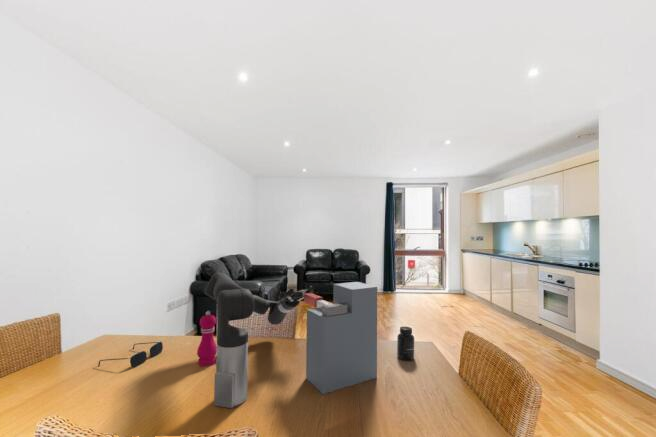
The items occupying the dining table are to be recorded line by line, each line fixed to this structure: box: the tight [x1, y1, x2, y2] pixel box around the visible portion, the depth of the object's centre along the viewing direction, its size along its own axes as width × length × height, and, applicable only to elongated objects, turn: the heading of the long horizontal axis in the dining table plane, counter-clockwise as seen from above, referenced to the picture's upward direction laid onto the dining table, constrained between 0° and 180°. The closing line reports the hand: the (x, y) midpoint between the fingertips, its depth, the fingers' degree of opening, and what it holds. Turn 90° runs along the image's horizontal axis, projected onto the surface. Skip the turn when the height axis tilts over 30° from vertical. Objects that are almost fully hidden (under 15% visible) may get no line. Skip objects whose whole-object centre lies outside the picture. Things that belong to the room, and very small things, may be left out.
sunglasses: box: [97, 341, 164, 368], centre depth 122 cm, size 17×15×5 cm
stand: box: [305, 281, 378, 395], centre depth 108 cm, size 12×22×32 cm, turn 121°
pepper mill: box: [196, 310, 217, 367], centre depth 119 cm, size 7×7×20 cm
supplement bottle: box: [396, 326, 415, 361], centre depth 126 cm, size 7×7×12 cm
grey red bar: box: [303, 292, 347, 317], centre depth 110 cm, size 22×8×3 cm, turn 31°
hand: (302, 289), depth 124 cm, fingers open, 8 cm apart
